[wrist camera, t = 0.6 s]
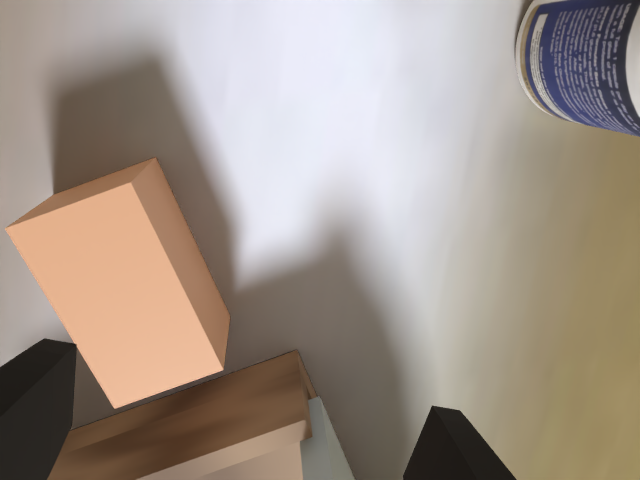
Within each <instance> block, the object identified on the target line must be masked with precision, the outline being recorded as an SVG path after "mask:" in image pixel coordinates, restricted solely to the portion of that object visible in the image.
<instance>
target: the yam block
mask: <svg viewBox="0 0 640 480" xmlns="http://www.w3.org/2000/svg"><path fill="white" fill-rule="evenodd" d="M5 229H6V231H7V233H8V234H9V236H10V238H11V239H12V241H13V243H14V244H15V246H16V248H17V249H18V251H19V252H20V254H21V256H22V257H23V259H24V261H25V262H26V264H27V266H28V267H29V269H30V271H31V272H32V274H33V276H34V277H35V279H36V280H37V282H38V284H39V285H40V287H41V289H42V290H43V292H44V294H45V295H46V297H47V299H48V300H49V302H50V304H51V305H52V307H53V308H54V310H55V312H56V313H57V315H58V317H59V318H60V320H61V322H62V323H63V325H64V327H65V328H66V330H67V332H68V333H69V335H70V336H71V338H72V340H73V341H74V343H75V344H77V348H78V350H79V351H80V353H81V355H82V356H83V358H84V360H85V361H86V363H87V364H88V366H89V368H90V369H91V371H92V373H93V374H94V376H95V378H96V379H97V381H98V383H99V384H100V386H101V388H102V389H103V391H104V392H105V394H106V396H107V397H108V399H109V401H110V402H111V404H112V406H113V407H114V409H116V408H118V407H121V406H124V405H127V404H130V403H132V402H135V401H138V400H141V399H144V398H147V397H149V396H152V395H155V394H158V393H161V392H163V391H166V390H169V389H172V388H175V387H177V386H180V385H183V384H186V383H189V382H191V381H194V380H197V379H200V378H203V377H206V376H208V375H211V374H214V373H217V372H220V371H222V370H224V363H225V355H226V347H227V340H228V332H229V324H230V314H229V312H228V310H227V308H226V306H225V304H224V302H223V299H222V297H221V295H220V293H219V291H218V289H217V287H216V284H215V282H214V280H213V278H212V276H211V274H210V272H209V270H208V267H207V265H206V263H205V261H204V259H203V257H202V255H201V252H200V250H199V248H198V246H197V244H196V242H195V240H194V237H193V235H192V233H191V231H190V229H189V227H188V225H187V222H186V220H185V218H184V216H183V214H182V212H181V210H180V207H179V205H178V203H177V201H176V199H175V197H174V195H173V192H172V190H171V188H170V186H169V184H168V182H167V180H166V178H165V175H164V173H163V171H162V169H161V167H160V165H159V163H158V160H157V158H156V157H155V158H152V159H149V160H147V161H144V162H141V163H138V164H136V165H133V166H130V167H128V168H125V169H122V170H119V171H117V172H114V173H111V174H109V175H106V176H103V177H100V178H98V179H95V180H92V181H90V182H87V183H84V184H81V185H79V186H76V187H73V188H71V189H68V190H65V191H62V192H60V193H57V194H54V195H52V196H51V197H50V198H48V199H47V200H45V201H44V202H42V203H41V204H39V205H38V206H37V207H35V208H34V209H32V210H31V211H29V212H28V213H26V214H25V215H24V216H22V217H21V218H19V219H18V220H16V221H15V222H13V223H12V224H11V225H9V226H8V227H6V228H5Z"/></svg>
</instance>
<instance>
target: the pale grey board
mask: <svg viewBox="0 0 640 480" xmlns="http://www.w3.org/2000/svg"><path fill="white" fill-rule="evenodd" d="M308 404H309V412H310V420H311V427H312V435H313V437H311V438H308V439H305V440H303V441H300V451H301V462H302V473H303V480H355V478H354V476H353V474H352V471H351V469H350V467H349V464H348V462H347V459H346V457H345V455H344V452H343V450H342V448H341V445H340V443H339V441H338V438H337V436H336V433H335V431H334V429H333V426H332V424H331V422H330V419H329V417H328V414H327V412H326V410H325V407H324V405H323V403H322V400H321V398H320V396H319V397H316V398H313V399H310V400H308Z"/></svg>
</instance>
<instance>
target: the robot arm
mask: <svg viewBox="0 0 640 480" xmlns="http://www.w3.org/2000/svg"><path fill="white" fill-rule="evenodd" d="M76 350H77V344H73V343H67V342H61V341H55V340H50V339H43V340H41V341H39V342H38V343H36V344H35V345H33V346H31V347H30V348H28V349H27V350H25V351H24V352H22V353H21V354H19V355H18V356H16V357H15V358H13V359H12V360H10V361H9V362H7V363H6V364H4V365H3V366H1V367H0V480H47V478H48V477H49V475H50V473H51V471H52V468H53V466H54V464H55V462H56V460H57V458H58V455H59V453H60V451H61V449H62V446H63V444H64V442H65V439H66V437H67V435H68V433H69V430H70V428H71V426H72V416H73V399H74V383H75V366H76ZM403 480H516V478H515V477H514V476H513V475H512V473H511V472H510V471H509V470H508V469H507V467H506V466H505V465H504V464H503V462H502V461H501V460H500V459H499V457H498V456H497V455H496V454H495V453H494V451H493V450H492V449H491V448H490V446H489V445H488V444H487V443H486V441H485V440H484V439H483V438H482V436H481V435H480V434H479V433H478V431H477V430H476V429H475V428H474V427H473V425H472V424H471V423H470V422H469V420H468V419H467V418H466V417H465V416H464V415H463V414H462V412H461V411H460V410H454V409H448V408H443V407H437V406H432V407H431V410H430V412H429V415H428V417H427V419H426V422H425V424H424V427H423V429H422V431H421V434H420V436H419V439H418V441H417V444H416V446H415V448H414V451H413V453H412V456H411V458H410V460H409V463H408V465H407V468H406V470H405V473H404V475H403Z"/></svg>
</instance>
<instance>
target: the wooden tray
mask: <svg viewBox="0 0 640 480" xmlns="http://www.w3.org/2000/svg"><path fill="white" fill-rule="evenodd" d="M316 397H317V395H316V393H315V390H314V388H313V386H312V383H311V381H310V379H309V376H308V374H307V372H306V369H305V367H304V365H303V362H302V360H301V358H300V355H299V353H298V350H295V351H292V352H290V353H287V354H284V355H281V356H278V357H276V358H273V359H270V360H267V361H264V362H262V363H259V364H256V365H253V366H250V367H248V368H245V369H242V370H239V371H236V372H234V373H231V374H228V375H225V376H222V377H220V378H217V379H214V380H211V381H208V382H206V383H203V384H200V385H197V386H194V387H192V388H189V389H186V390H183V391H180V392H178V393H175V394H172V395H169V396H166V397H164V398H161V399H158V400H155V401H152V402H150V403H147V404H144V405H141V406H138V407H136V408H133V409H130V410H127V411H124V412H122V413H119V414H116V415H113V416H110V417H108V418H105V419H102V420H99V421H96V422H94V423H91V424H88V425H85V426H82V427H80V428H77V429H74V430H71V431H69V433H68V435H67V437H66V439H65V442H64V444H63V446H62V449H61V451H60V453H59V455H58V458H57V460H56V462H55V464H54V466H53V468H52V471H51V473H50V475H49V477H48V478H47V480H303V473H302V462H301V451H300V441H303V440H305V439H308V438H311V437H313V435H312V427H311V420H310V412H309V404H308V400H310V399H313V398H316Z"/></svg>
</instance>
